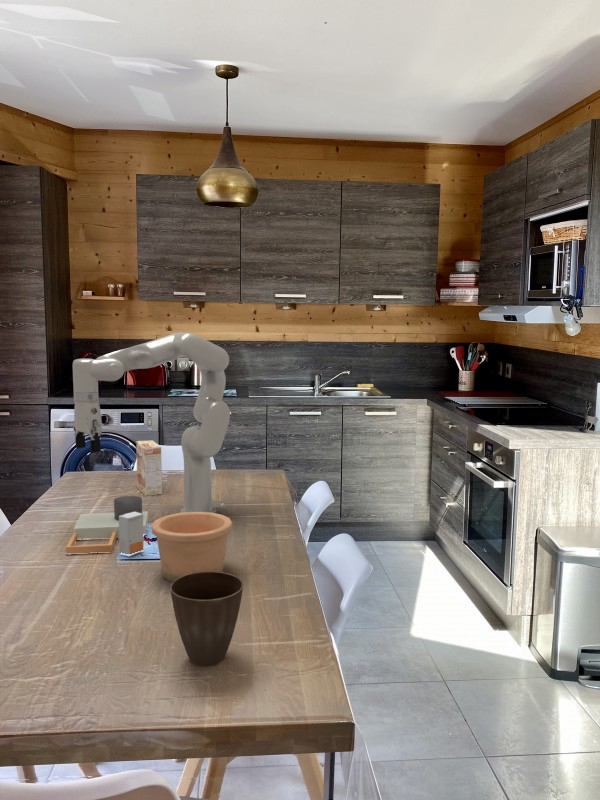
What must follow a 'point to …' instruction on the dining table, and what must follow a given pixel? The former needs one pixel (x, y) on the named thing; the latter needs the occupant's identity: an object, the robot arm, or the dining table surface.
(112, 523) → the slab with grey cylinder
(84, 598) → the dining table surface
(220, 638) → the plant pot
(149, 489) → the coffeecake box
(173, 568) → the pottery
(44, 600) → the dining table surface
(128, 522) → the skincare box
